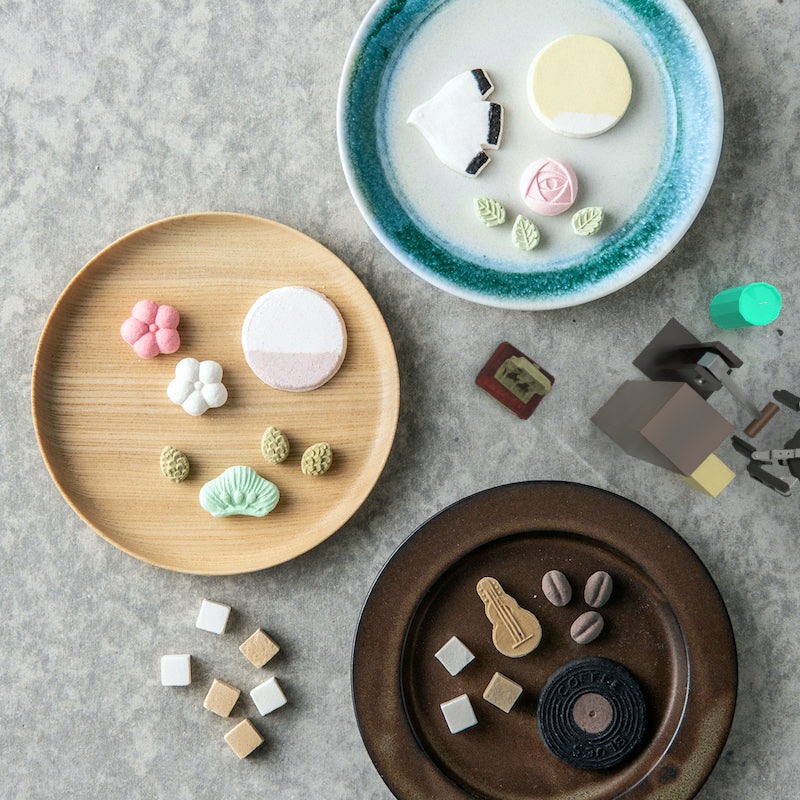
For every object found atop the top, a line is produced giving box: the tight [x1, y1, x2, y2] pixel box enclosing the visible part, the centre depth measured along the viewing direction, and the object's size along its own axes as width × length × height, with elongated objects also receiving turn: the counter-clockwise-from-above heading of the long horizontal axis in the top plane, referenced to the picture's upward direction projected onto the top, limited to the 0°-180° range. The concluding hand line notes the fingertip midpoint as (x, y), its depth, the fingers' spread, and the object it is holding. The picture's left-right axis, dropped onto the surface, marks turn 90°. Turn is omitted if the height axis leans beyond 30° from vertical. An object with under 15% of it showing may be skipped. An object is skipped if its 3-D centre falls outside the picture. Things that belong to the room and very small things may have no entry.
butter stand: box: [590, 379, 736, 477], centre depth 96 cm, size 8×8×24 cm
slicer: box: [631, 317, 745, 402], centre depth 101 cm, size 12×9×14 cm
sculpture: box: [474, 341, 556, 421], centre depth 101 cm, size 10×8×15 cm
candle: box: [709, 281, 783, 331], centre depth 101 cm, size 6×6×12 cm
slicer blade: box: [697, 352, 781, 440], centre depth 98 cm, size 14×6×2 cm, turn 49°
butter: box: [677, 452, 737, 499], centre depth 104 cm, size 5×4×8 cm
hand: (753, 416), depth 101 cm, fingers open, 8 cm apart
